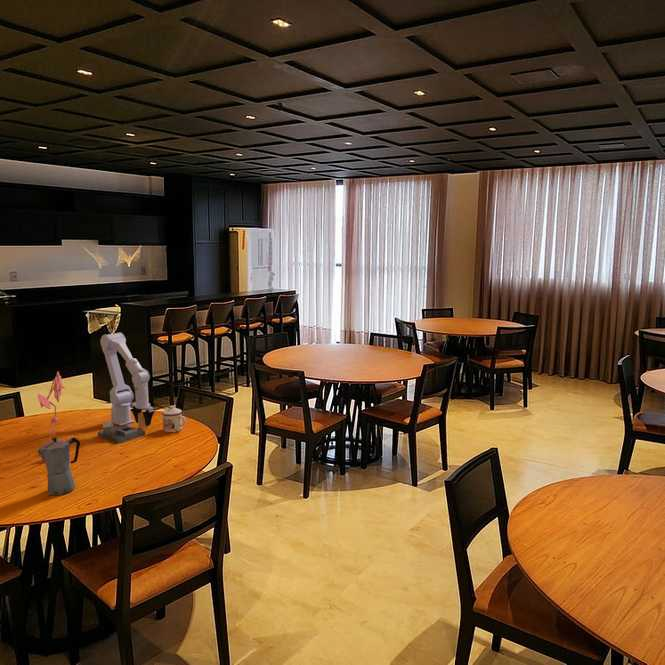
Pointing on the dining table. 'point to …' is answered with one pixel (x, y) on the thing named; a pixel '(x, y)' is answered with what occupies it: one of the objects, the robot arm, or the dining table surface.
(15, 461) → the dining table surface
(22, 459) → the dining table surface
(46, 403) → the pink orchid stem
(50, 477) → the moka pot
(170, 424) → the teacup with lid
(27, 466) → the dining table surface
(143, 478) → the dining table surface
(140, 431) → the grey base plate
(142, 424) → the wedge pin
